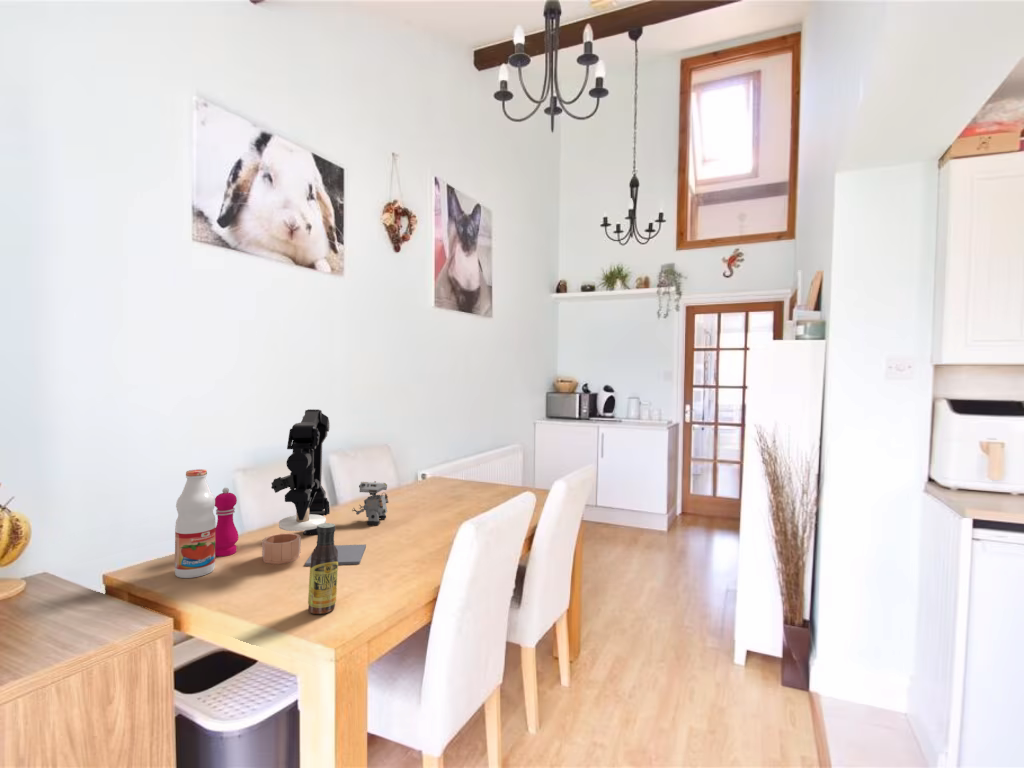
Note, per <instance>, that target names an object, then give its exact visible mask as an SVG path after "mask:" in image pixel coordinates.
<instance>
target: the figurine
mask: <svg viewBox="0 0 1024 768" xmlns="http://www.w3.org/2000/svg"><path fill="white" fill-rule="evenodd" d="M358 488H359V493H369V495H370V496H367V498H366V499H364V500H363V503H364V505H361V504H359V506H360V507H358V509H359V510H357V509H356V508H355V507H353V508H352V510H351V511H352V512H356V515H357V516H358V515H360V514H361V513H364V512H365V516H366V518H367V521H366V522H367V523H366V524H367V525H368V526H373V525H374V526H379V525H380V520H385V519H387V515H386V514H387V513H388V509H387V504H389V499H388V498H389V496H388V494H387V493H386V492H382V491H387V490H388V484H387V483H386V482H377V481H375V480H374V481H361V482H360V484H359V485H358ZM380 492H382V493H381V494H378V493H380ZM383 494H384V495H383ZM379 519H380V520H379Z"/></svg>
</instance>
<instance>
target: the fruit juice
mask: <svg viewBox="0 0 1024 768" xmlns="http://www.w3.org/2000/svg"><path fill="white" fill-rule="evenodd" d="M207 471H208V470H207V469H200V468H199V469H197V468H196V469H190V470H186V472H185V478H186V482H185V484H184V487H183V490H182V492H181V493H180V495H179V497H178V498H177V500H176V505H175V508H176V511H177V518H176V521H175V525H174V527H175V529H174V532H175V533H174V535H175V536H174V574H175V577H177V578H180V579H193V578H197V577H203V576H206V575H208V574H210V573H212V572H213V571H214V570H215V566H216V556H215V528H216V525H217V522H216V515H215V513H214V509H215V498H216V496H215V495H214V494H213V493H212V491H211V489H210V487H209V485H208V484H209V483H208V481H207V479H206V477H207V475H208V472H207Z"/></svg>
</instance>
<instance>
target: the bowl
mask: <svg viewBox="0 0 1024 768" xmlns="http://www.w3.org/2000/svg"><path fill="white" fill-rule="evenodd" d="M301 543H302V536H301V535H300V534H298V533H293V532H286V533H285V532H284V533H283V532H282V533H276V534H271V535H268V536H265V537H264V538H263V539H262V545H261V546H262V548H261V549H262V551H261V558H262V561H263V563H265V564H267V565H281V564H288V563H292V562H294V561H297V560H298V559H300V556H301V553H302V552H301V550H302V548H301V547H302V545H301Z"/></svg>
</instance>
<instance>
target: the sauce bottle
mask: <svg viewBox="0 0 1024 768" xmlns="http://www.w3.org/2000/svg"><path fill="white" fill-rule="evenodd" d="M335 531H336V524H335V523H333V522H332V523H331V522H329V523H328V522H326V523H323V524H319V525H318V526H317V533H318V534H317V535H316V537H317V539H316V540H317V541H316V546H315V547H314V549H313V551H312V553H311V554H312V555H311V554H310V556H311V565H310V566H309V579H308V580H309V581H308V594H307V595H308V599H307V605H308V612H309V613H310V614H313V615H325V614H328V613H330V612H332V611H334V610H335V607H336V602H337V595H338V594H337V592H338V591H337V590H338V576H339V575H338V574H339V573H338V570H339V565H338V550H337V548H336V547H335Z"/></svg>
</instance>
